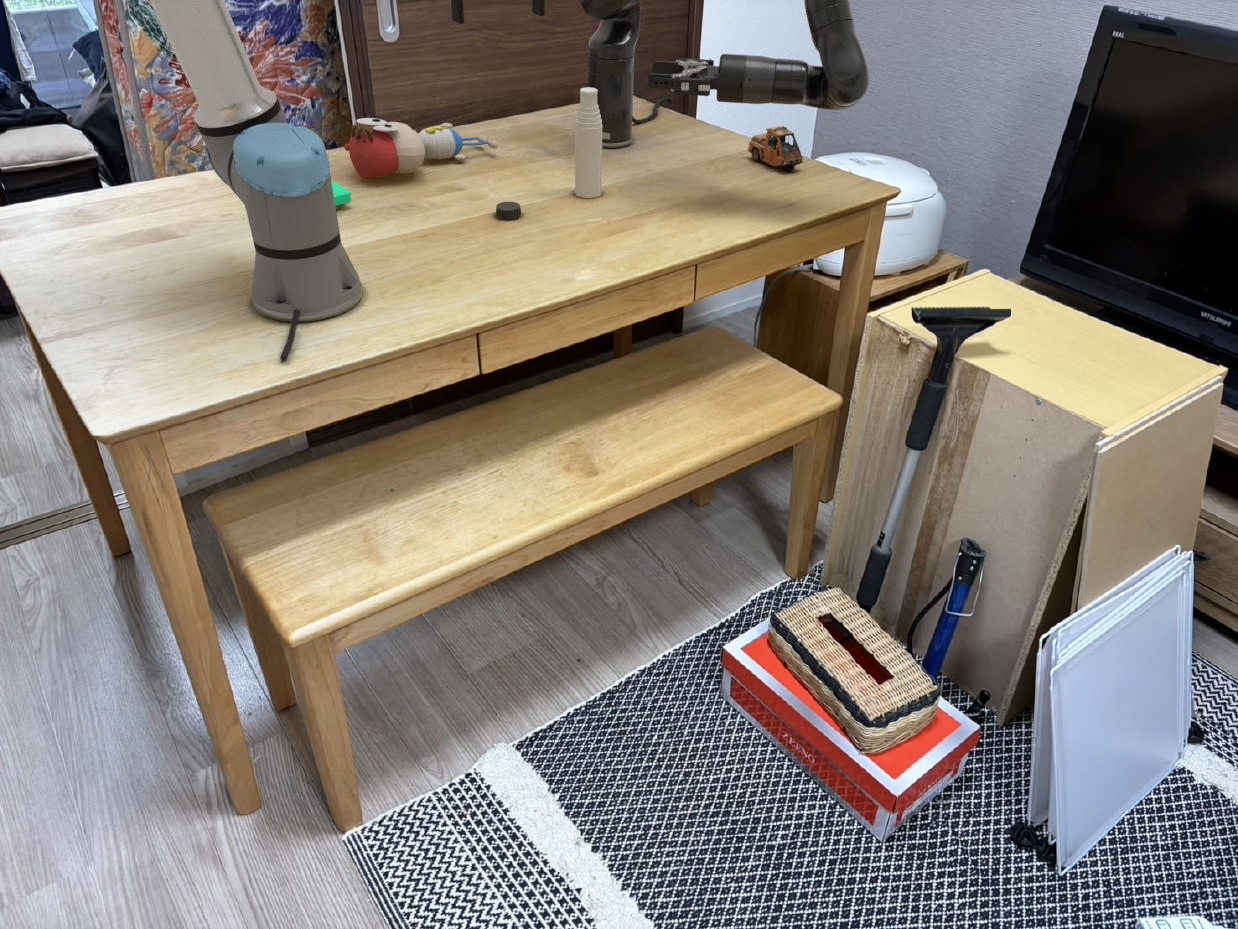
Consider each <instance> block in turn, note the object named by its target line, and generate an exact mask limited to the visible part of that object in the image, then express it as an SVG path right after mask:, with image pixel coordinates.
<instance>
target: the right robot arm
mask: <svg viewBox="0 0 1238 929" xmlns="http://www.w3.org/2000/svg"><path fill="white" fill-rule="evenodd" d="M579 3H580V6H581V8H582V10H583V11H584V12H585V13H586V14H587V16H589V17H591V18H593V19H595V20H600V23H599V26H598V27H597V29H596V30H595V32H594V33H593V35H592V36H590V37H589V39H588V48H587V50H588V54H587V57H588V58H587V61H588V62H587V66H588V67H587V68H588V70H587V76H588V77H587V79H588V80H587V85H588V86H587V87H591V88H596V89H597V90H598V94H597V105H598V106H599V108H598V109H599V110H600V115H601V119H602V148H605V149H606V148H609V149H613V148H614V149H615V148H622V147H627V146H629V145H630V144H632V142H633V135H632V134H633V124H637V125H641V124H645V123H648V122H649V121H650V120H653V119H654V118H655V117H657V115H658V113H659V110H658V107H659V106H660V105H661V104H663V103H664V102H668V103H671V104H673V103H674V101H673V99H672V97H669V96H664V97H662V98H661V99H659V100H658V101H657V102H656V103H654V104H653V113H651V114H649V115H648V116H646V117H645V118H641V119H637V118H635V117H634V116H633V112H634V111H633V108H634V107H633V106H634V78H635V77H634V75H635V74H634V72H635V67H634V66H635V50H636V49H635V48H636V45H637V42H638V40H639V36H640V29H641V14H642V5H643V4H642V3H643V1H642V0H579ZM804 8H805V15H806V19H807V24H808V28H809V33H810V36H811V41H812V44H813V47H814V49H815V50H816V51H817V52H818V54H819V59H820V64H821V65H813V64H811V65H810V64H809V63H808V62H806V61H804V60H800V59H791V58H774V57H769V56H762V55H750V54H734V53H733V54H731V53H722V54H721V55H720V56H719V63H718V66H717V65H715V60H714V59H711V58H710V59H703V58H690V57H688V58H687V57H680V58H679V59H677V60H675V61H672V60H671V61H670V60H654V61H653V63H652V73H651V72H650V73H649V74H648V76H647V87H648V88H649V89H655V90H656V89H659V90H670V91H671V92H673V95H676V96H678V95H679V96H701V97H709V96H710V95H711V90H712V91H713V90H715V91H716V101H717V102H718V103H728V104H729V103H731V104H750V105H763V104H773V105H774V104H775V105H800V106H801V105H802V106H805V107H811V108H816V109H821V110H828V111H845V110H849V109H851V108H853V107H855V106H856V105H857V104H858V103H859V102H860V101H861V99H862V98H863V97H864V96H865V95H866V94H867V92H868V88H869V85H870V75H869V69H868V64H867V62H866V58H865V55H864V51H863V49H862V46H861V43H860V41H859V39H858V36H857V34H856V28H855V22H854V16H853V13H852V8H851V4H850V0H804Z"/></svg>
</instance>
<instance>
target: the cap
mask: <svg viewBox="0 0 1238 929" xmlns="http://www.w3.org/2000/svg"><path fill="white" fill-rule="evenodd" d="M495 216H496V217H497V219H499V220H504V221H514V220H518V219H520V217H521V216H522V208H521V204H520V203H518V202H516V201H502V202H499V203H497V204H496V205H495Z"/></svg>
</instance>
